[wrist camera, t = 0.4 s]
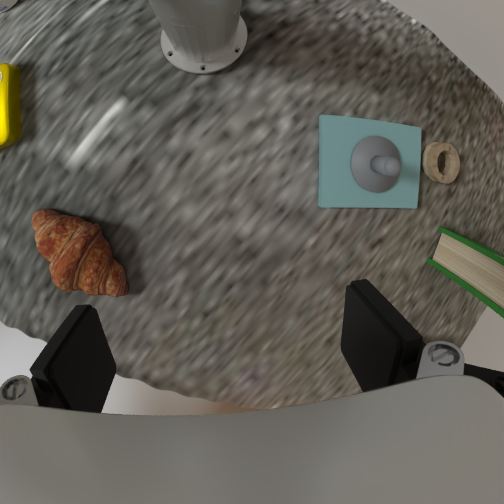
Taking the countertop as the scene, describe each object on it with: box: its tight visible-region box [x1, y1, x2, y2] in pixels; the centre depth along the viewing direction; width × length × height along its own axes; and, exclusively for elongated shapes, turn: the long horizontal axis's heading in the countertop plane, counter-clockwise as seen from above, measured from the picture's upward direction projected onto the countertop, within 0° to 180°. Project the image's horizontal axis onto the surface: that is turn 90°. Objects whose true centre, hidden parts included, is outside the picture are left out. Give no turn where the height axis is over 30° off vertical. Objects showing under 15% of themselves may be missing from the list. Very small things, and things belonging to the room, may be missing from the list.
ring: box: [422, 142, 460, 184], centre depth 44 cm, size 7×7×3 cm
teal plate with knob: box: [318, 115, 421, 208], centre depth 41 cm, size 14×18×8 cm
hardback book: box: [427, 226, 504, 318], centre depth 41 cm, size 18×7×24 cm, turn 75°
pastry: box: [32, 209, 129, 297], centre depth 41 cm, size 17×15×8 cm
